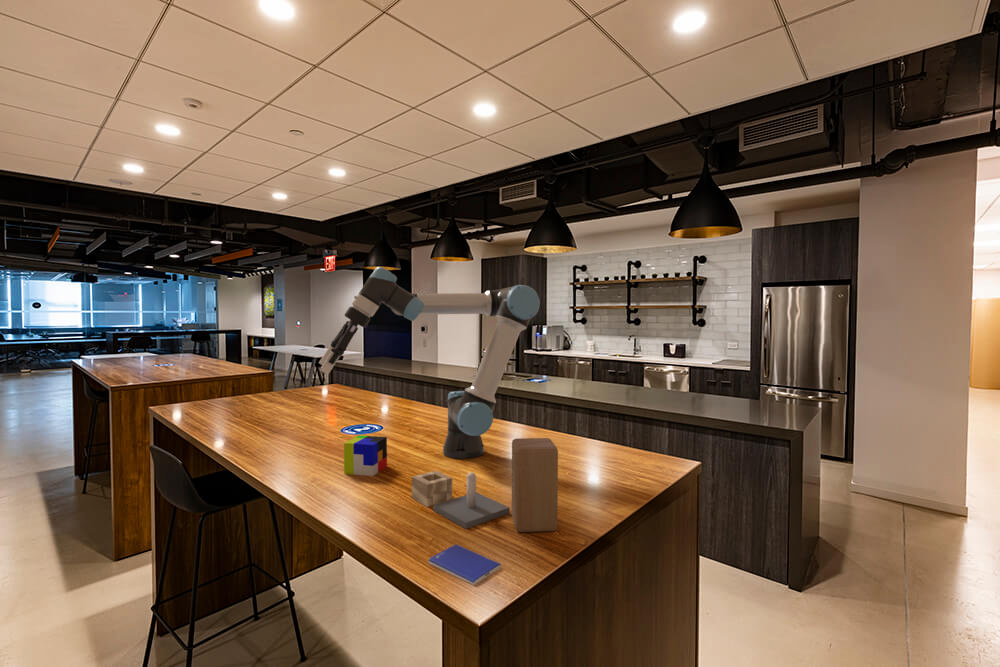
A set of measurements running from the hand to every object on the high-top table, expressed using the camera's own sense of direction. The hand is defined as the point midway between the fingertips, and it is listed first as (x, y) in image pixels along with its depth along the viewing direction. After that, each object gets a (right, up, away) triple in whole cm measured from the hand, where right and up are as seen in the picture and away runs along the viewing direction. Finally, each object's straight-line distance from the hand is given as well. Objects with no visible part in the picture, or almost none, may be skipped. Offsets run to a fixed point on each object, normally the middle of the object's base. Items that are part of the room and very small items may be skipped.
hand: (323, 368), depth 147 cm
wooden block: (+63, -36, -32) cm, 80 cm away
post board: (+48, -35, -25) cm, 64 cm away
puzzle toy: (+11, -34, +8) cm, 37 cm away
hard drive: (+48, -37, -51) cm, 79 cm away
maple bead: (+36, -35, -17) cm, 53 cm away
